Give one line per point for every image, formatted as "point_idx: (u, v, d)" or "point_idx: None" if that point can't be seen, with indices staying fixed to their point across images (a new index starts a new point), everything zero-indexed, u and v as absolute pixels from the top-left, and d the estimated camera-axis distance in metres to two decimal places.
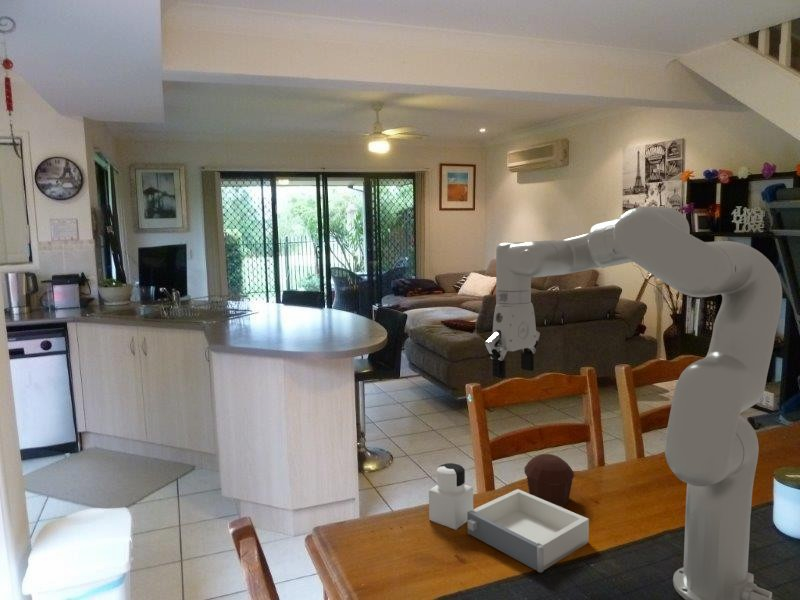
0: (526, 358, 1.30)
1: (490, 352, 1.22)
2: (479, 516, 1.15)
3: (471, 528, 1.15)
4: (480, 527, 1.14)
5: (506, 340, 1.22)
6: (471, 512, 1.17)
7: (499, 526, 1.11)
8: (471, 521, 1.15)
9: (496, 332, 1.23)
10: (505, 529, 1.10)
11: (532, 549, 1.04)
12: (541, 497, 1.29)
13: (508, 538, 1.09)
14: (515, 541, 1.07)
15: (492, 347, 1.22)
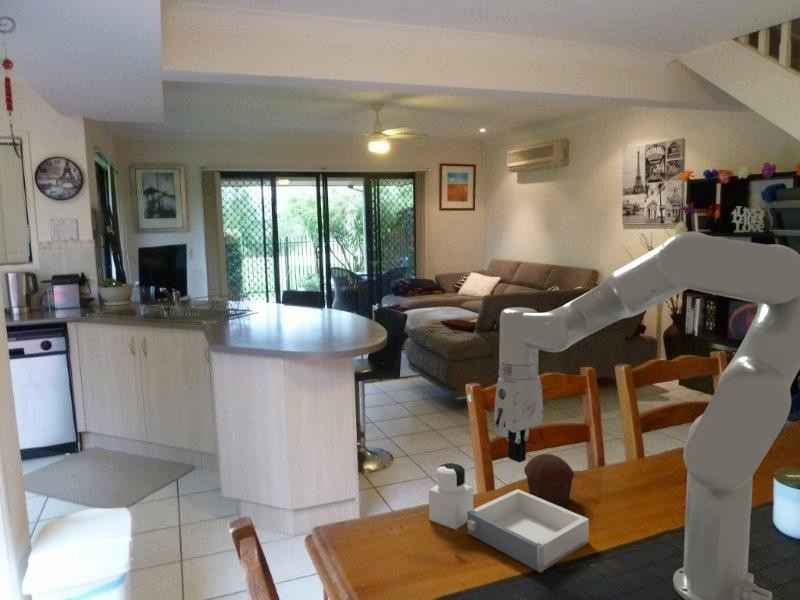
0: None
1: None
2: (479, 516, 1.15)
3: (471, 528, 1.15)
4: (480, 527, 1.14)
5: (509, 420, 1.08)
6: (471, 512, 1.17)
7: (499, 526, 1.11)
8: (471, 521, 1.15)
9: (501, 416, 1.10)
10: (505, 529, 1.10)
11: (532, 549, 1.04)
12: (541, 497, 1.29)
13: (508, 538, 1.09)
14: (515, 541, 1.07)
15: (507, 433, 1.10)
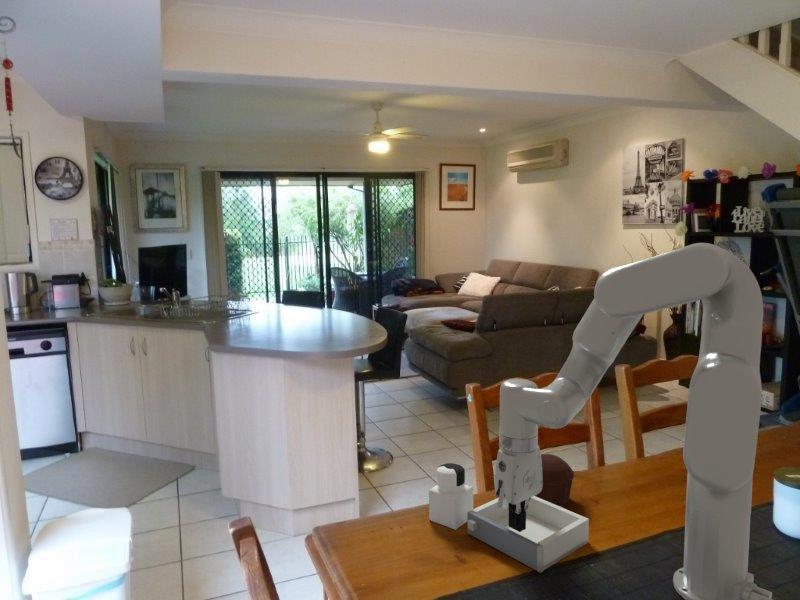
0: None
1: None
2: (479, 516, 1.15)
3: (471, 528, 1.15)
4: (480, 527, 1.14)
5: (510, 493, 1.09)
6: (471, 512, 1.17)
7: (499, 526, 1.11)
8: (471, 521, 1.15)
9: (501, 487, 1.12)
10: (505, 529, 1.10)
11: (532, 549, 1.04)
12: (541, 497, 1.29)
13: (508, 538, 1.09)
14: (515, 541, 1.07)
15: (507, 504, 1.12)
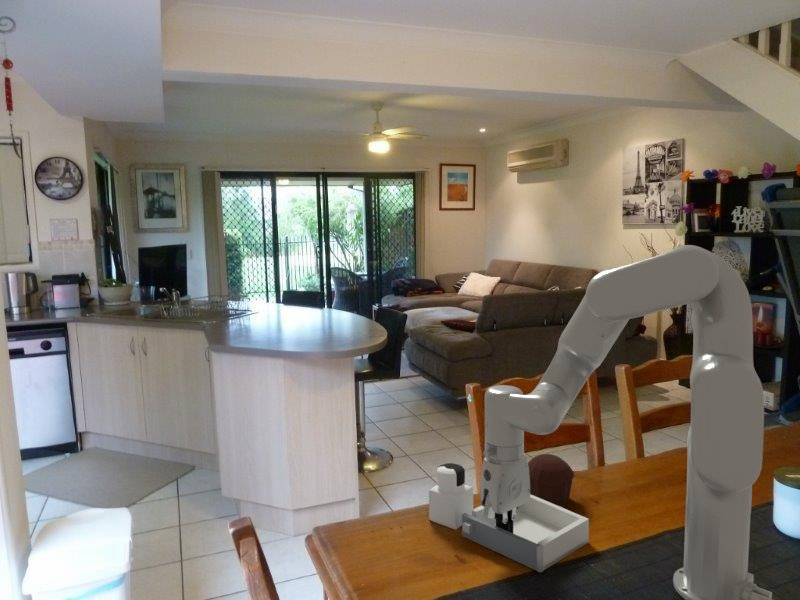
0: None
1: None
2: (474, 518, 1.14)
3: (467, 531, 1.14)
4: (476, 529, 1.14)
5: (495, 503, 1.07)
6: (466, 515, 1.16)
7: (496, 527, 1.10)
8: (466, 524, 1.14)
9: (487, 496, 1.09)
10: (502, 530, 1.09)
11: (532, 549, 1.04)
12: (541, 497, 1.29)
13: (506, 539, 1.08)
14: (513, 542, 1.07)
15: (493, 514, 1.09)
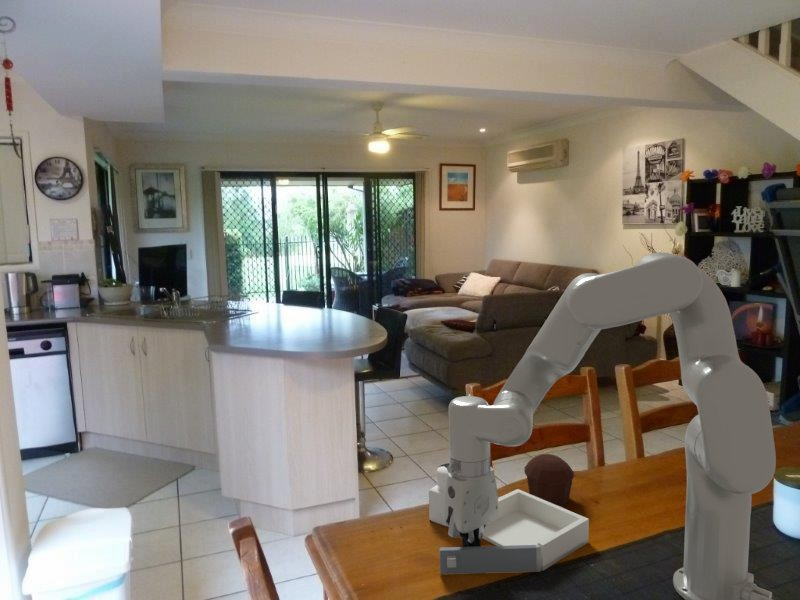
0: None
1: None
2: (456, 548, 1.03)
3: (453, 565, 1.02)
4: (460, 559, 1.03)
5: (459, 521, 1.01)
6: (443, 549, 1.03)
7: (484, 547, 1.04)
8: (451, 558, 1.02)
9: (452, 514, 1.03)
10: (493, 547, 1.03)
11: (531, 552, 1.03)
12: (541, 497, 1.29)
13: (499, 555, 1.03)
14: (508, 554, 1.03)
15: (458, 533, 1.03)
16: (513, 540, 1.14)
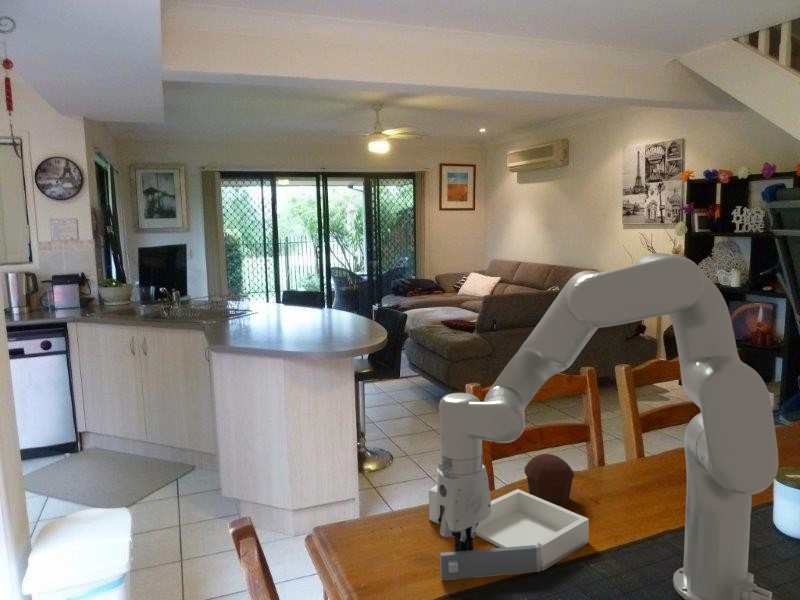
0: None
1: None
2: (457, 553, 1.02)
3: (455, 570, 1.00)
4: (461, 564, 1.02)
5: (451, 520, 0.99)
6: (444, 554, 1.02)
7: (485, 550, 1.03)
8: (453, 563, 1.01)
9: (443, 513, 1.01)
10: (493, 550, 1.03)
11: (531, 553, 1.03)
12: (541, 497, 1.29)
13: (500, 557, 1.02)
14: (509, 555, 1.03)
15: (450, 532, 1.01)
16: (513, 540, 1.14)
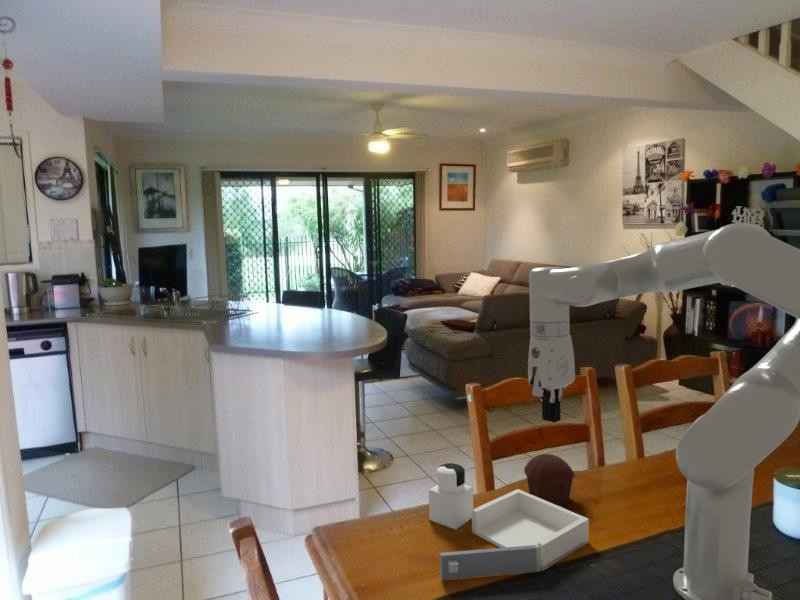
0: None
1: None
2: (457, 553, 1.02)
3: (455, 570, 1.00)
4: (461, 564, 1.02)
5: (545, 378, 1.07)
6: (444, 554, 1.02)
7: (485, 550, 1.03)
8: (453, 563, 1.01)
9: (535, 375, 1.09)
10: (493, 550, 1.03)
11: (531, 553, 1.03)
12: (541, 497, 1.29)
13: (500, 557, 1.02)
14: (509, 555, 1.03)
15: (542, 393, 1.10)
16: (513, 540, 1.14)
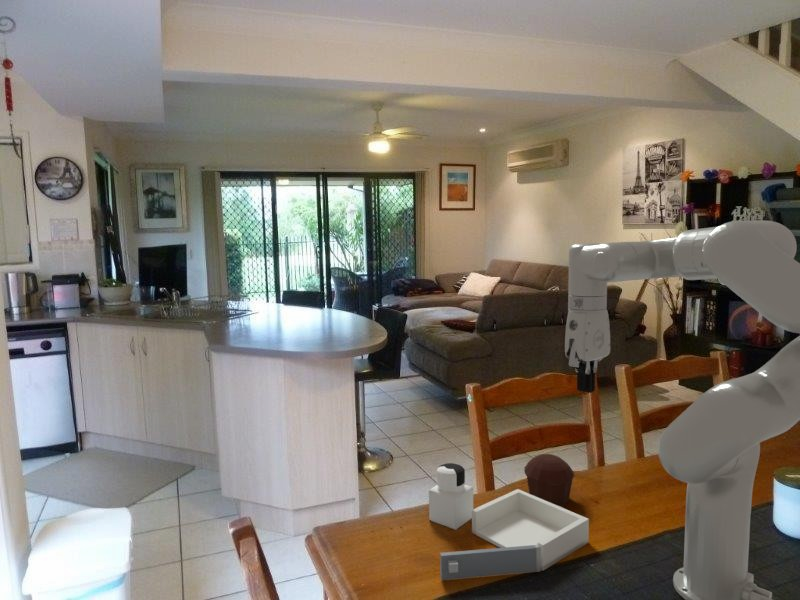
0: None
1: None
2: (457, 553, 1.02)
3: (455, 570, 1.00)
4: (461, 564, 1.02)
5: (582, 350, 1.12)
6: (444, 554, 1.02)
7: (485, 550, 1.03)
8: (453, 563, 1.01)
9: (572, 346, 1.14)
10: (493, 550, 1.03)
11: (531, 553, 1.03)
12: (541, 497, 1.29)
13: (500, 557, 1.02)
14: (509, 555, 1.03)
15: (578, 364, 1.14)
16: (513, 540, 1.14)
